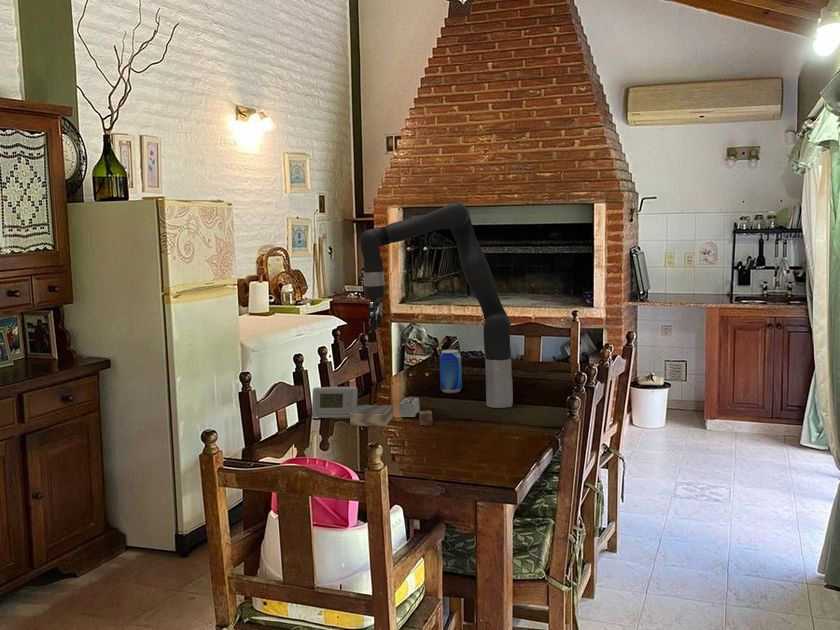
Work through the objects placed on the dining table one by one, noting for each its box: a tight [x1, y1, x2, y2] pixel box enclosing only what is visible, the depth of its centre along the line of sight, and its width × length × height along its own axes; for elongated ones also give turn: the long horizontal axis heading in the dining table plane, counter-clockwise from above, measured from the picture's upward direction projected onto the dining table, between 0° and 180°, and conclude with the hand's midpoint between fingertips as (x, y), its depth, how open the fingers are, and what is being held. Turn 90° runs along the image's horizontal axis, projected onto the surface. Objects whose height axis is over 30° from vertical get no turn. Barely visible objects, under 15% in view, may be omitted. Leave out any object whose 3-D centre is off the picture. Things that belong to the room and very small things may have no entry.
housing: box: [399, 396, 421, 418], centre depth 272 cm, size 5×9×6 cm, turn 168°
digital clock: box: [311, 386, 359, 420], centre depth 271 cm, size 16×9×11 cm, turn 72°
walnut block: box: [418, 410, 433, 426], centre depth 259 cm, size 4×4×4 cm
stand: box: [349, 404, 394, 427], centre depth 265 cm, size 12×12×4 cm
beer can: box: [439, 349, 463, 394], centre depth 305 cm, size 8×8×16 cm
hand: (376, 328), depth 284 cm, fingers open, 8 cm apart
